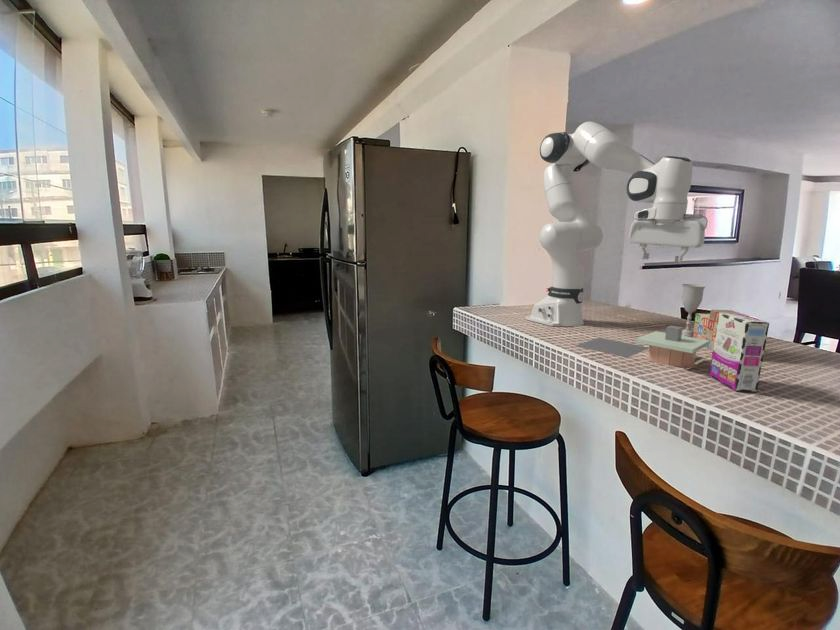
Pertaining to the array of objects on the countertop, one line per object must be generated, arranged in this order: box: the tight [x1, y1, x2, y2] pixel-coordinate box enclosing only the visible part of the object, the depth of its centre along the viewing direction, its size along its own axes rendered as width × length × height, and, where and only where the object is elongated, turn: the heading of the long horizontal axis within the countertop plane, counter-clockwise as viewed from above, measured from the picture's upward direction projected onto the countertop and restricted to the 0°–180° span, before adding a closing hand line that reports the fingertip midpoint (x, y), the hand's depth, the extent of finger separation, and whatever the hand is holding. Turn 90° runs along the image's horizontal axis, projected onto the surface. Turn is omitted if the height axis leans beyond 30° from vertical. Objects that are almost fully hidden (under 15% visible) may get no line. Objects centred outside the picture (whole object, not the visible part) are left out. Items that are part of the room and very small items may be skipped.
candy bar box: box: [709, 313, 770, 393], centre depth 100 cm, size 11×5×16 cm, turn 174°
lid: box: [635, 325, 710, 353], centre depth 117 cm, size 14×14×4 cm
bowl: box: [647, 345, 697, 369], centre depth 118 cm, size 11×11×6 cm
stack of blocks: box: [693, 309, 756, 350], centre depth 131 cm, size 21×6×12 cm, turn 170°
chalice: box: [681, 283, 707, 337], centre depth 145 cm, size 7×7×18 cm
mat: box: [574, 337, 649, 358], centre depth 131 cm, size 16×16×1 cm
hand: (661, 260), depth 129 cm, fingers open, 8 cm apart
